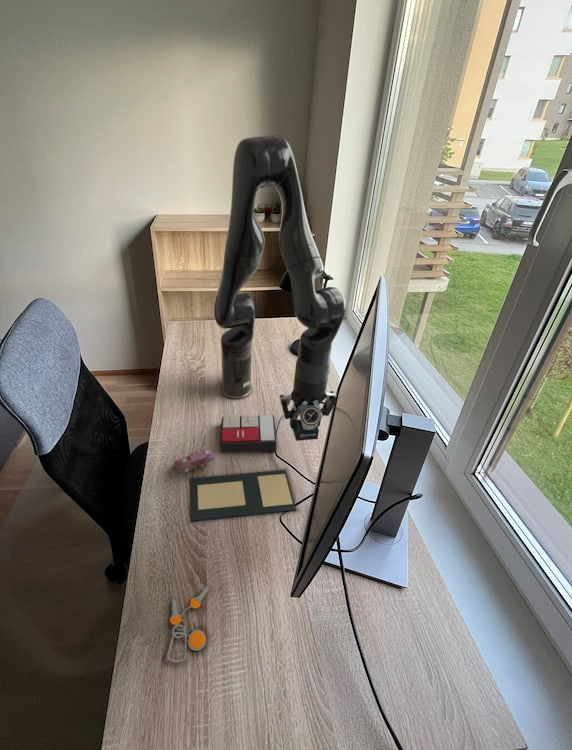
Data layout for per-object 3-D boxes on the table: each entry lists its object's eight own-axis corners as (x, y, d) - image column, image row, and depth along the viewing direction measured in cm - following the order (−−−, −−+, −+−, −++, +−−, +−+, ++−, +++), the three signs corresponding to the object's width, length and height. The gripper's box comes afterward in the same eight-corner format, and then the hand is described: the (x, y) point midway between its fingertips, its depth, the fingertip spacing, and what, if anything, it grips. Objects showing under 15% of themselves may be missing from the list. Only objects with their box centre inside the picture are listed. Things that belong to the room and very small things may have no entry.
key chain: (203, 664, 67) (203, 662, 67) (160, 662, 68) (160, 660, 67) (211, 587, 78) (211, 585, 78) (174, 586, 78) (173, 584, 78)
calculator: (221, 414, 115) (273, 412, 114) (222, 425, 117) (273, 423, 117) (219, 441, 106) (276, 439, 105) (220, 453, 108) (276, 451, 108)
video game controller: (178, 479, 102) (180, 471, 96) (172, 463, 104) (174, 454, 98) (214, 466, 106) (218, 457, 100) (207, 450, 107) (211, 441, 102)
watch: (297, 446, 99) (301, 412, 92) (290, 424, 105) (294, 391, 99) (319, 444, 99) (325, 411, 93) (311, 422, 106) (316, 389, 99)
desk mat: (191, 479, 100) (191, 477, 100) (285, 470, 103) (285, 469, 102) (191, 521, 90) (191, 519, 90) (296, 510, 93) (296, 508, 92)
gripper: (337, 361, 95) (327, 415, 105) (277, 365, 93) (273, 419, 103) (347, 380, 89) (336, 435, 99) (284, 384, 87) (279, 440, 97)
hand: (304, 427), depth 101 cm, fingers closed on watch, 4 cm apart
